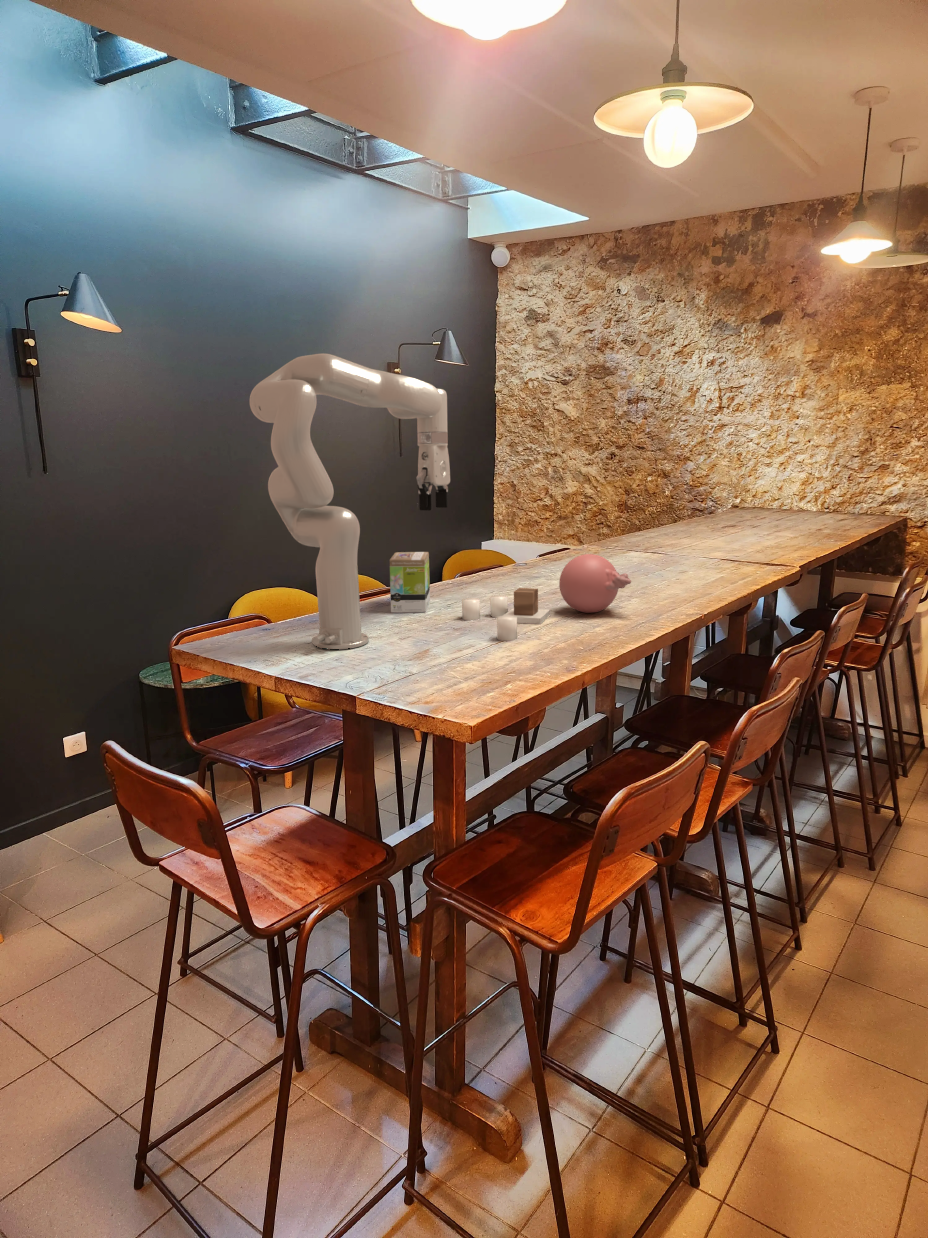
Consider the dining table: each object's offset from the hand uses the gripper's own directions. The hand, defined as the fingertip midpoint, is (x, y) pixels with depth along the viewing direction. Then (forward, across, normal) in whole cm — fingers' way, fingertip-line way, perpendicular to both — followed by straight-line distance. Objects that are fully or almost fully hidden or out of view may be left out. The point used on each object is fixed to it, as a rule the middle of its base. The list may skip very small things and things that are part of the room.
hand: (433, 508), depth 201 cm
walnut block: (+26, +5, -23) cm, 36 cm away
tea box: (+28, +10, +12) cm, 32 cm away
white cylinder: (+28, +7, -15) cm, 33 cm away
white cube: (+28, +1, -9) cm, 30 cm away
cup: (+28, -15, -25) cm, 41 cm away
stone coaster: (+28, +5, -23) cm, 37 cm away
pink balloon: (+28, +16, -39) cm, 50 cm away
